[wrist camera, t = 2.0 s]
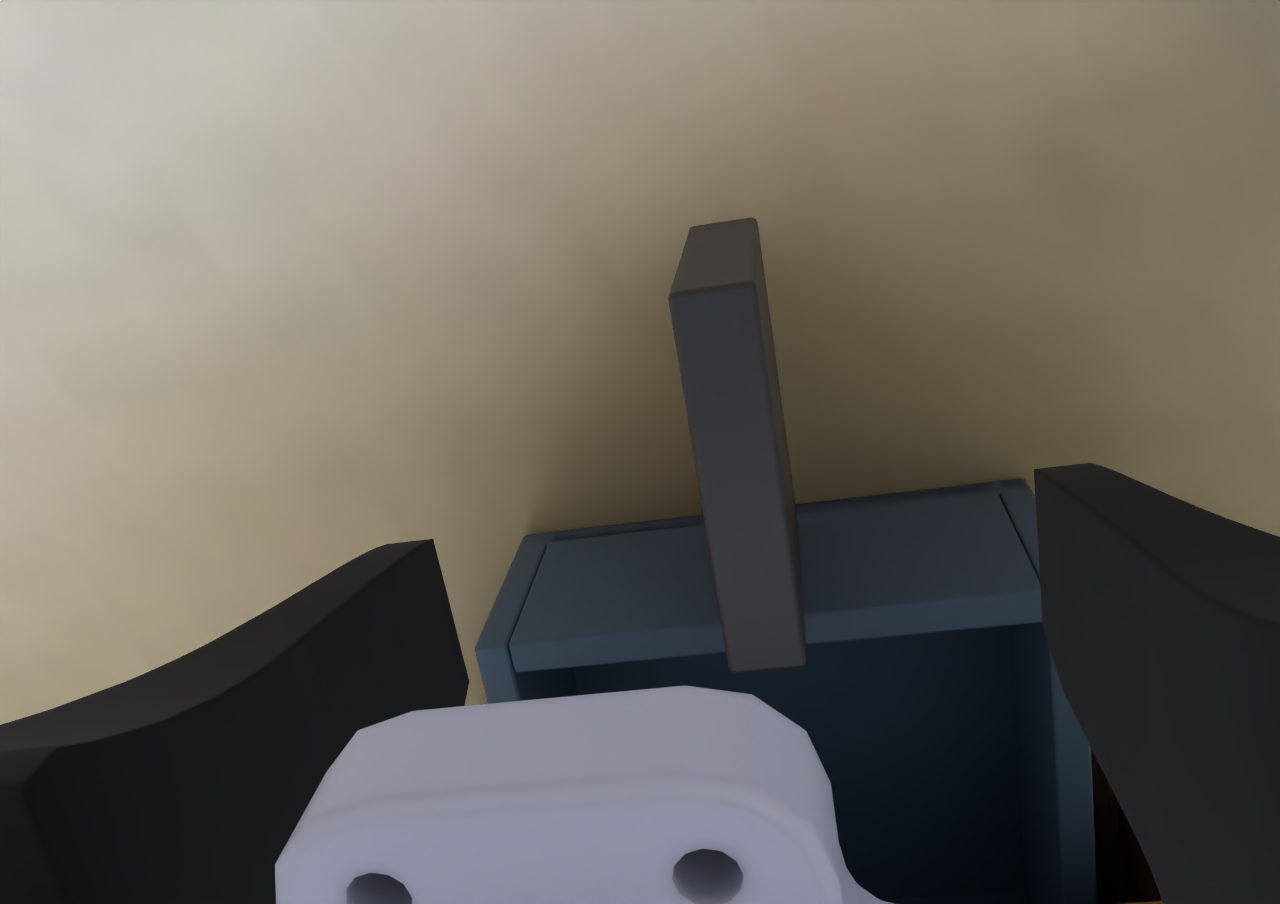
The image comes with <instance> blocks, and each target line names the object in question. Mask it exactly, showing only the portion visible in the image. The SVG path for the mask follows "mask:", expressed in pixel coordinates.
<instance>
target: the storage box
mask: <svg viewBox="0 0 1280 904" xmlns="http://www.w3.org/2000/svg"><path fill="white" fill-rule="evenodd" d="M668 300H669V306H670V312H671V318H672V325H673V331H674V337H675V343H676V349H677V355H678V361H679V368H680V374H681V380H682V386H683V392H684V398H685V404H686V410H687V417H688V423H689V429H690V435H691V441H692V447H693V453H694V460H695V466H696V472H697V478H698V484H699V490H700V496H701V503H702V509H703V515H702V516H693V517H684V518H676V519H667V520H658V521H649V522H640V523H632V524H623V525H614V526H605V527H597V528H588V529H579V530H570V531H562V532H553V533H544V534H535V535H527V536H524V537H523V539H522V542H521V544H520V546H519V549H518V551H517V553H516V555H515V558H514V560H513V562H512V564H511V567H510V569H509V571H508V573H507V576H506V578H505V580H504V583H503V585H502V587H501V589H500V592H499V594H498V596H497V598H496V601H495V603H494V605H493V607H492V610H491V612H490V614H489V617H488V619H487V621H486V623H485V626H484V628H483V630H482V632H481V635H480V637H479V639H478V641H477V644H476V646H475V652H476V656H477V660H478V664H479V668H480V672H481V676H482V680H483V685H484V689H485V693H486V697H487V701H488V704H492V703H503V702H513V701H524V700H535V699H545V698H556V697H567V696H578V695H588V694H599V693H610V692H620V691H631V690H642V689H653V688H663V687H674V686H693V687H700V688H708V689H715V690H723V691H730V692H738V693H745V694H753V695H754V696H755V697H757V698H758V699H760V700H761V701H763V702H764V703H766V704H767V705H769V706H770V707H772V708H773V709H775V710H776V711H778V712H779V713H781V714H782V715H784V716H785V717H787V718H788V719H790V720H791V721H793V722H794V723H795V724H797V725H798V726H800V727H801V728H803V729H804V730H806V731H807V734H808V736H809V738H810V740H811V742H812V744H813V746H814V748H815V751H816V753H817V755H818V757H819V759H820V761H821V763H822V765H823V767H824V770H825V772H826V774H827V776H828V778H829V780H830V782H831V788H832V796H833V803H834V811H835V818H836V826H837V833H838V841H839V845H840V848H841V851H842V855H843V858H844V861H845V865H846V868H847V869H848V871H849V872H850V874H851V875H852V877H853V878H854V880H855V882H856V883H857V884H858V885H859V886H861V887H862V888H863V889H865V890H866V891H868V892H869V893H871V894H872V895H873V896H875V897H876V898H878V899H880V900H882V901H885V902H890V903H895V904H1097V882H1096V858H1095V833H1094V809H1093V784H1092V760H1091V747H1090V745H1089V743H1088V741H1087V739H1086V737H1085V735H1084V733H1083V731H1082V729H1081V727H1080V725H1079V723H1078V721H1077V719H1076V717H1075V715H1074V713H1073V711H1072V709H1071V706H1070V704H1069V702H1068V700H1067V698H1066V696H1065V694H1064V691H1063V688H1062V685H1061V682H1060V679H1059V676H1058V673H1057V670H1056V667H1055V664H1054V661H1053V658H1052V655H1051V652H1050V648H1049V645H1048V642H1047V639H1046V635H1045V632H1044V629H1043V624H1042V606H1041V587H1040V569H1039V551H1038V533H1037V515H1036V498H1035V497H1034V495H1033V493H1032V491H1031V489H1030V487H1029V486H1028V484H1027V482H1026V480H1025V479H1017V480H1008V481H999V482H991V483H982V484H973V485H965V486H956V487H947V488H938V489H930V490H921V491H912V492H903V493H894V494H886V495H877V496H868V497H859V498H851V499H842V500H833V501H824V502H816V503H807V504H798V505H795V500H794V492H793V485H792V477H791V470H790V462H789V455H788V447H787V439H786V432H785V424H784V417H783V409H782V402H781V394H780V387H779V379H778V372H777V364H776V357H775V349H774V342H773V334H772V327H771V319H770V312H769V304H768V296H767V289H766V281H765V274H764V266H763V259H762V251H761V244H760V236H759V229H758V222H757V220H756V219H755V218H746V219H739V220H732V221H726V222H719V223H713V224H706V225H699V226H693V227H692V228H690V230H689V233H688V236H687V239H686V243H685V246H684V249H683V252H682V256H681V259H680V262H679V265H678V268H677V272H676V275H675V278H674V281H673V284H672V288H671V291H670V294H669V298H668Z"/></svg>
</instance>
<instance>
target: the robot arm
mask: <svg viewBox="0 0 1280 904" xmlns="http://www.w3.org/2000/svg"><path fill="white" fill-rule="evenodd" d="M1034 478H1035V497H1036V515H1037V533H1038V551H1039V569H1040V587H1041V606H1042V624H1043V629H1044V632H1045V635H1046V639H1047V642H1048V645H1049V648H1050V652H1051V655H1052V658H1053V661H1054V664H1055V667H1056V670H1057V673H1058V676H1059V679H1060V682H1061V685H1062V688H1063V691H1064V694H1065V696H1066V698H1067V700H1068V702H1069V704H1070V706H1071V709H1072V711H1073V713H1074V715H1075V717H1076V719H1077V721H1078V723H1079V725H1080V727H1081V729H1082V731H1083V733H1084V735H1085V737H1086V739H1087V741H1088V743H1089V745H1090V747H1091V749H1092V751H1093V753H1094V755H1095V757H1096V759H1097V761H1098V763H1099V765H1100V767H1101V769H1102V770H1103V772H1104V774H1105V776H1106V778H1107V780H1108V782H1109V784H1110V786H1111V788H1112V790H1113V792H1114V794H1115V796H1116V798H1117V800H1118V802H1119V804H1120V806H1121V808H1122V810H1123V812H1124V814H1125V816H1126V818H1127V820H1128V822H1129V824H1130V826H1131V828H1132V830H1133V832H1134V834H1135V836H1136V838H1137V840H1138V842H1139V844H1140V847H1141V849H1142V851H1143V853H1144V856H1145V858H1146V860H1147V862H1148V865H1149V867H1150V869H1151V871H1152V874H1153V876H1154V879H1155V882H1156V885H1157V887H1158V890H1159V893H1160V896H1161V898H1162V901H1163V904H1280V537H1278V536H1275V535H1272V534H1269V533H1266V532H1263V531H1260V530H1258V529H1255V528H1252V527H1249V526H1246V525H1243V524H1241V523H1238V522H1235V521H1232V520H1229V519H1227V518H1224V517H1222V516H1219V515H1216V514H1214V513H1211V512H1209V511H1206V510H1204V509H1201V508H1199V507H1196V506H1194V505H1192V504H1189V503H1187V502H1185V501H1182V500H1180V499H1178V498H1175V497H1173V496H1171V495H1168V494H1166V493H1164V492H1161V491H1159V490H1157V489H1155V488H1152V487H1150V486H1148V485H1146V484H1143V483H1141V482H1139V481H1137V480H1134V479H1132V478H1130V477H1127V476H1125V475H1123V474H1120V473H1118V472H1116V471H1113V470H1111V469H1108V468H1105V467H1102V466H1099V465H1096V464H1092V463H1085V464H1077V465H1068V466H1059V467H1051V468H1042V469H1034ZM468 685H469V679H468V675H467V671H466V667H465V663H464V659H463V655H462V651H461V647H460V643H459V640H458V636H457V632H456V628H455V624H454V620H453V616H452V612H451V608H450V604H449V600H448V596H447V592H446V588H445V584H444V580H443V576H442V572H441V568H440V564H439V560H438V557H437V553H436V549H435V545H434V541H433V539H429V540H420V541H411V542H403V543H394V544H386V545H383V546H381V547H378V548H375V549H373V550H371V551H368V552H366V553H364V554H363V555H361V556H359V557H357V558H355V559H353V560H351V561H349V562H348V563H346V564H344V565H343V566H341V567H339V568H337V569H336V570H334V571H332V572H331V573H329V574H327V575H326V576H324V577H322V578H321V579H319V580H317V581H316V582H314V583H312V584H311V585H309V586H307V587H306V588H304V589H302V590H301V591H299V592H297V593H296V594H294V595H292V596H291V597H289V598H288V599H286V600H284V601H283V602H281V603H279V604H278V605H276V606H274V607H273V608H271V609H269V610H267V611H265V612H264V613H262V614H260V615H258V616H257V617H255V618H253V619H251V620H249V621H248V622H246V623H244V624H242V625H241V626H239V627H237V628H235V629H233V630H232V631H230V632H228V633H226V634H224V635H223V636H221V637H219V638H217V639H216V640H214V641H212V642H210V643H208V644H206V645H204V646H202V647H200V648H198V649H196V650H194V651H192V652H190V653H188V654H186V655H184V656H182V657H180V658H178V659H176V660H174V661H171V662H169V663H167V664H165V665H163V666H160V667H158V668H156V669H154V670H151V671H149V672H147V673H145V674H143V675H140V676H138V677H136V678H133V679H131V680H128V681H126V682H124V683H121V684H118V685H116V686H113V687H110V688H107V689H105V690H102V691H99V692H97V693H94V694H91V695H88V696H86V697H83V698H80V699H78V700H75V701H72V702H70V703H67V704H64V705H61V706H59V707H56V708H53V709H50V710H47V711H44V712H41V713H38V714H35V715H31V716H28V717H25V718H22V719H18V720H15V721H12V722H9V723H5V724H2V725H0V904H895V903H890V902H885V901H882V900H880V899H878V898H876V897H875V896H873V895H872V894H871V893H869V892H868V891H866V890H865V889H863V888H862V887H861V886H859V885H858V884H857V883H856V882H855V880H854V878H853V877H852V875H851V874H850V872H849V871H848V869H847V868H846V865H845V861H844V858H843V855H842V851H841V848H840V845H839V841H838V833H837V826H836V818H835V811H834V803H833V796H832V788H831V782H830V780H829V778H828V776H827V774H826V772H825V770H824V767H823V765H822V763H821V761H820V759H819V757H818V755H817V753H816V751H815V748H814V746H813V744H812V742H811V740H810V738H809V736H808V734H807V731H806V730H804V729H803V728H801V727H800V726H798V725H797V724H795V723H794V722H793V721H791V720H790V719H788V718H787V717H785V716H784V715H782V714H781V713H779V712H778V711H776V710H775V709H773V708H772V707H770V706H769V705H767V704H766V703H764V702H763V701H761V700H760V699H758V698H757V697H755V696H754V695H753V694H745V693H738V692H730V691H723V690H715V689H708V688H700V687H693V686H674V687H663V688H653V689H642V690H631V691H620V692H610V693H599V694H588V695H578V696H567V697H556V698H545V699H535V700H524V701H513V702H503V703H492V704H481V705H470V706H464V704H465V700H466V695H467V690H468Z"/></svg>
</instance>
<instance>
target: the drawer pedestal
mask: <svg viewBox="0 0 1280 904" xmlns="http://www.w3.org/2000/svg"><path fill="white" fill-rule="evenodd" d="M1091 760H1092V784H1093V809H1094V833H1095V858H1096V882H1097V904H1163V901H1162V898H1161V896H1160V893H1159V890H1158V887H1157V885H1156V882H1155V879H1154V876H1153V874H1152V871H1151V869H1150V867H1149V865H1148V862H1147V860H1146V858H1145V856H1144V853H1143V851H1142V849H1141V847H1140V844H1139V842H1138V840H1137V838H1136V836H1135V834H1134V832H1133V830H1132V828H1131V826H1130V824H1129V822H1128V820H1127V818H1126V816H1125V814H1124V812H1123V810H1122V808H1121V806H1120V804H1119V802H1118V800H1117V798H1116V796H1115V794H1114V792H1113V790H1112V788H1111V786H1110V784H1109V782H1108V780H1107V778H1106V776H1105V774H1104V772H1103V770H1102V769H1101V767H1100V765H1099V763H1098V761H1097V759H1096V757H1095V755H1094V753H1093V751H1092V749H1091Z"/></svg>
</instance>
